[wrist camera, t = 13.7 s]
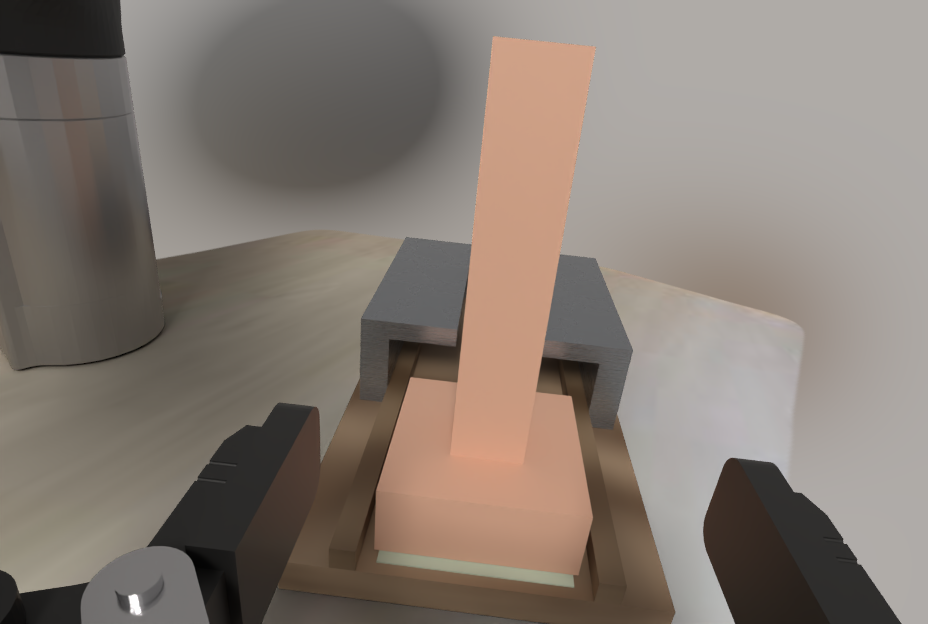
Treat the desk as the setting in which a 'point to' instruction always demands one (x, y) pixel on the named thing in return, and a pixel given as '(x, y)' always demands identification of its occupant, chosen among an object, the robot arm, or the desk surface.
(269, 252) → the desk surface
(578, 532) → the pink post on block
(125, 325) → the robot arm
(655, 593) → the track board
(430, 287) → the tunnel
